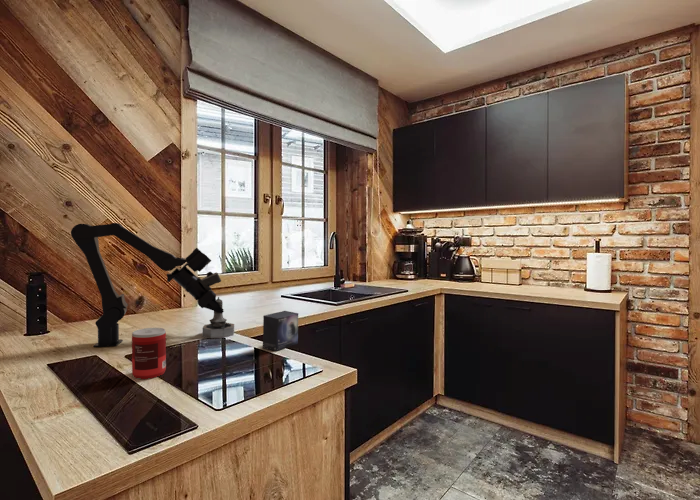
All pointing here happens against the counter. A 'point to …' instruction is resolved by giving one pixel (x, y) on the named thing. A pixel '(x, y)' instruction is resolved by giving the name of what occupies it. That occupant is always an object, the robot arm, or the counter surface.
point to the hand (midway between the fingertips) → (222, 311)
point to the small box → (280, 330)
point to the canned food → (148, 352)
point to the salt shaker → (218, 318)
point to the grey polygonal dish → (218, 331)
